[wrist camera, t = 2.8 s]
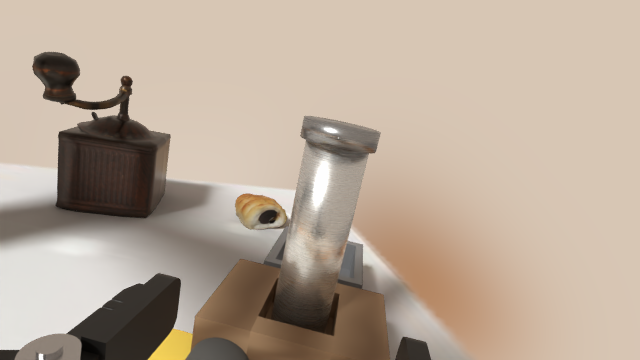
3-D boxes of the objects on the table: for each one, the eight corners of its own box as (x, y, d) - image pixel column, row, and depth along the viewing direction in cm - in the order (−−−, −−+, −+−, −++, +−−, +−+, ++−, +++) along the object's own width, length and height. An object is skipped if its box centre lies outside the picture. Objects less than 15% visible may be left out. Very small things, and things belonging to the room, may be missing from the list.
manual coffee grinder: (85, 183, 51) (90, 55, 46) (166, 193, 53) (178, 73, 49) (20, 226, 36) (19, 45, 32) (136, 236, 39) (150, 72, 35)
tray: (257, 299, 32) (264, 260, 31) (280, 257, 41) (286, 226, 40) (352, 323, 32) (362, 285, 31) (354, 275, 40) (362, 244, 39)
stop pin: (254, 344, 23) (297, 117, 19) (273, 303, 28) (310, 114, 24) (325, 363, 23) (382, 136, 19) (332, 318, 27) (379, 129, 24)
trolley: (142, 393, 21) (149, 323, 20) (215, 298, 31) (222, 248, 30) (371, 459, 20) (392, 389, 19) (368, 338, 30) (382, 288, 29)
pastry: (223, 206, 54) (227, 182, 53) (264, 206, 57) (268, 184, 57) (245, 232, 46) (250, 205, 45) (290, 230, 50) (295, 205, 49)
